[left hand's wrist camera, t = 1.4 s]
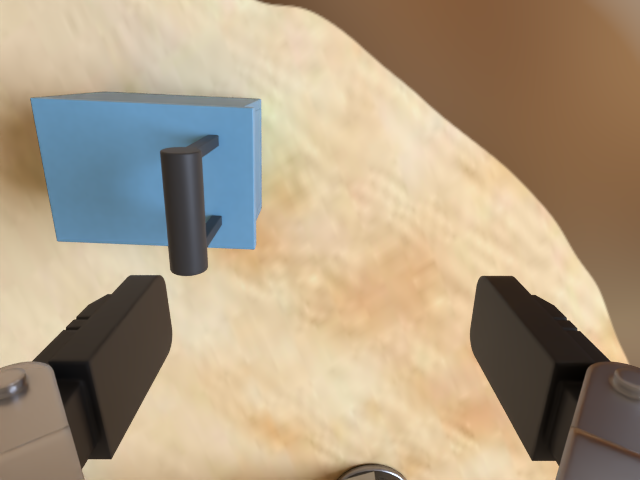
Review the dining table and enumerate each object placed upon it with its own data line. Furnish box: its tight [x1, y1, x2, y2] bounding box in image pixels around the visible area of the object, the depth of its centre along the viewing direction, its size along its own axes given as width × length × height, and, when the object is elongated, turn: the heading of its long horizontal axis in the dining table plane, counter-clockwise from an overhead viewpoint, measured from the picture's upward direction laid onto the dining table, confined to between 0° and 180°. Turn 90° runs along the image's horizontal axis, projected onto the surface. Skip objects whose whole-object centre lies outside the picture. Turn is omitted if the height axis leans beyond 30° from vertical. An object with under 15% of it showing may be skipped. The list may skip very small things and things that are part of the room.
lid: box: [30, 97, 256, 276], centre depth 25 cm, size 14×10×9 cm
